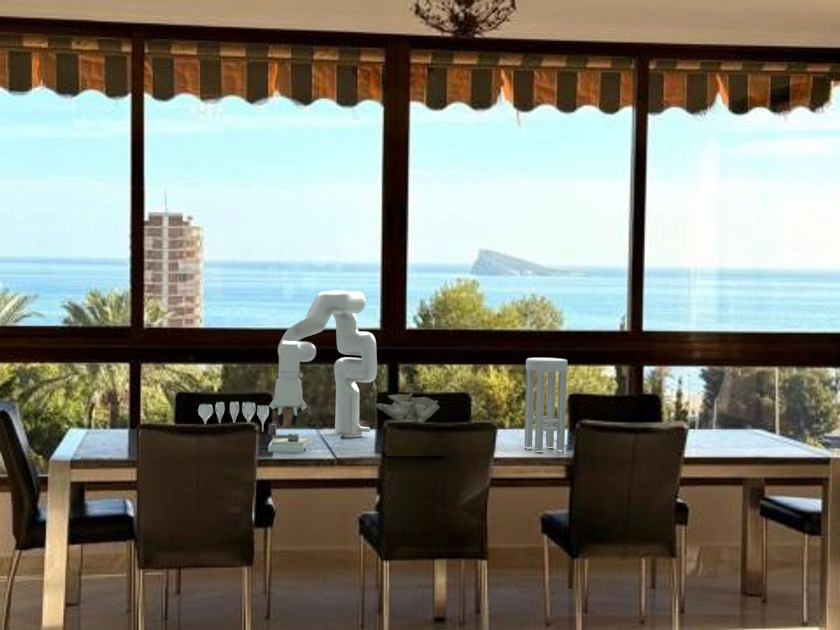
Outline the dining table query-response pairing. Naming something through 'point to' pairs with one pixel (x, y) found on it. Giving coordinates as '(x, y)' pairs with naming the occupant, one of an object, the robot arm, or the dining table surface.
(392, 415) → the coral
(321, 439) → the dining table surface
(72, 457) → the dining table surface
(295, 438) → the crank
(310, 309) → the robot arm
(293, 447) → the tray
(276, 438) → the plate
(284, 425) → the peg
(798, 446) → the dining table surface
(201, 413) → the goblet set
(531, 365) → the stool
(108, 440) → the dining table surface
